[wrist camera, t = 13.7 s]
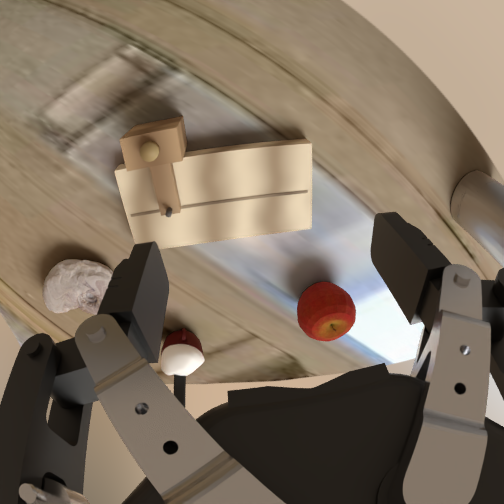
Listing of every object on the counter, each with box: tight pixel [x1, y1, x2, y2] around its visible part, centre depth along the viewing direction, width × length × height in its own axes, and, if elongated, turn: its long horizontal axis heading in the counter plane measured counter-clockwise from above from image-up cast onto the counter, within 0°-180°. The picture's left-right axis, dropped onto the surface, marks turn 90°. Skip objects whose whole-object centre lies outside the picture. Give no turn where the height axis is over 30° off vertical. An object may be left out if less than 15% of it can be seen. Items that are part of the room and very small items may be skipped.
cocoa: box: [161, 328, 205, 408], centre depth 41 cm, size 10×6×12 cm, turn 144°
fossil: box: [43, 259, 113, 315], centre depth 36 cm, size 12×4×10 cm
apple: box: [297, 282, 356, 341], centre depth 40 cm, size 8×8×8 cm
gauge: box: [120, 116, 187, 217], centre depth 28 cm, size 5×9×7 cm, turn 5°
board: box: [114, 139, 312, 249], centre depth 32 cm, size 20×10×2 cm, turn 95°
